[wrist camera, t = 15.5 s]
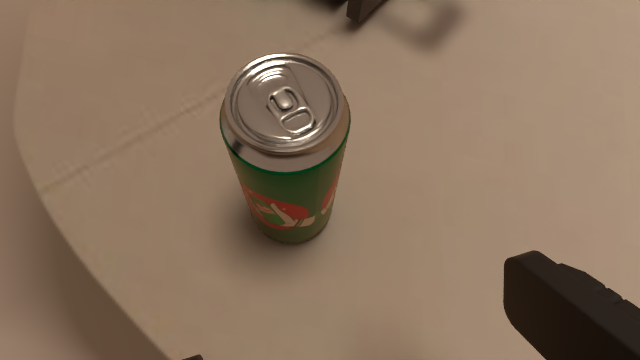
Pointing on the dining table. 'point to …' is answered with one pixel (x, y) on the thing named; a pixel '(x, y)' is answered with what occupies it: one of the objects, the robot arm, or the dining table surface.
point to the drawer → (360, 8)
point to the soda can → (286, 142)
